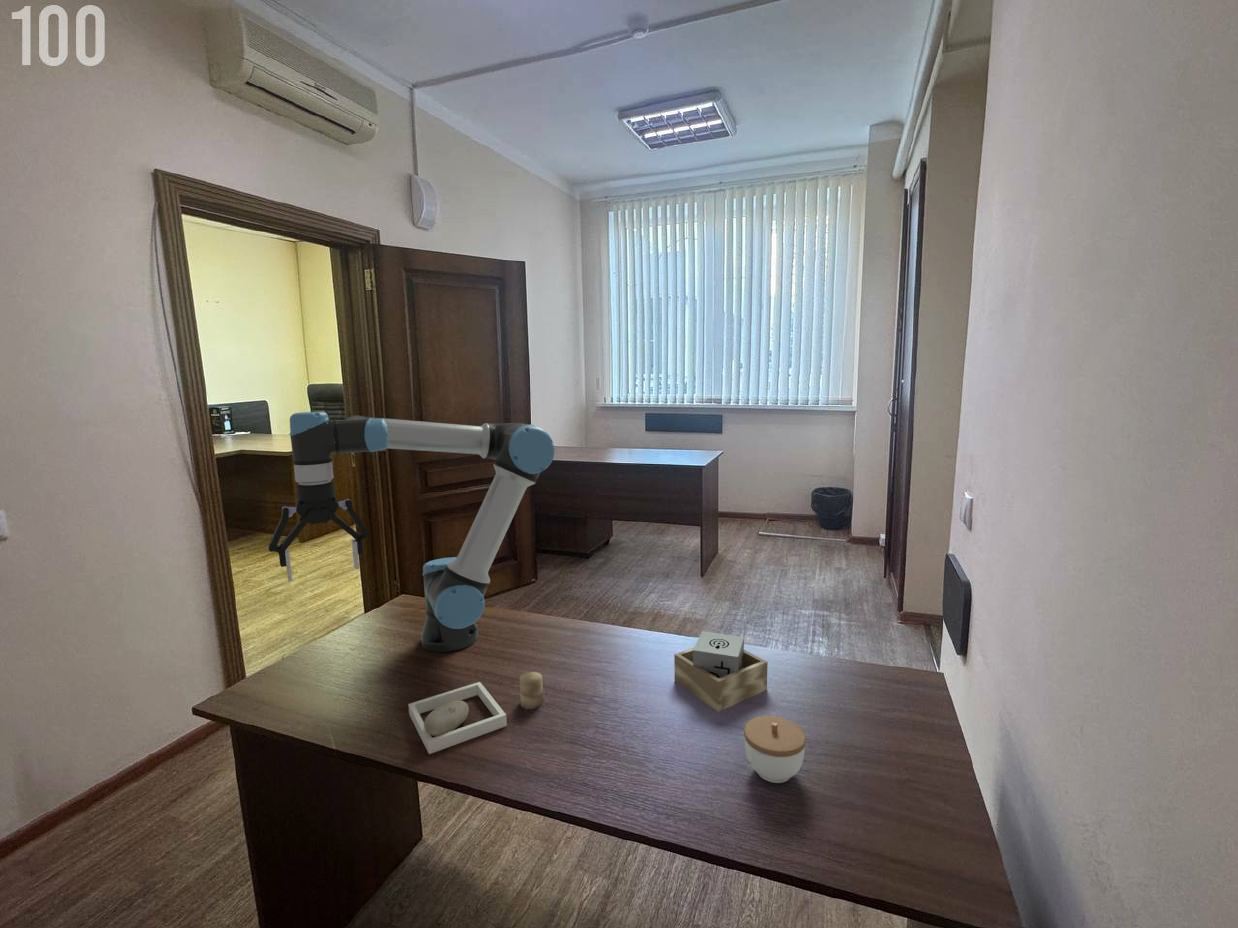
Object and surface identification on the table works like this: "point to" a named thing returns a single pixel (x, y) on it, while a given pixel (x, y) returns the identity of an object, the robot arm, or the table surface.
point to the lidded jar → (774, 747)
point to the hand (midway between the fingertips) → (324, 573)
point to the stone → (446, 718)
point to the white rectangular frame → (461, 733)
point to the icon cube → (719, 653)
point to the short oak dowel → (531, 690)
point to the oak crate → (721, 680)
